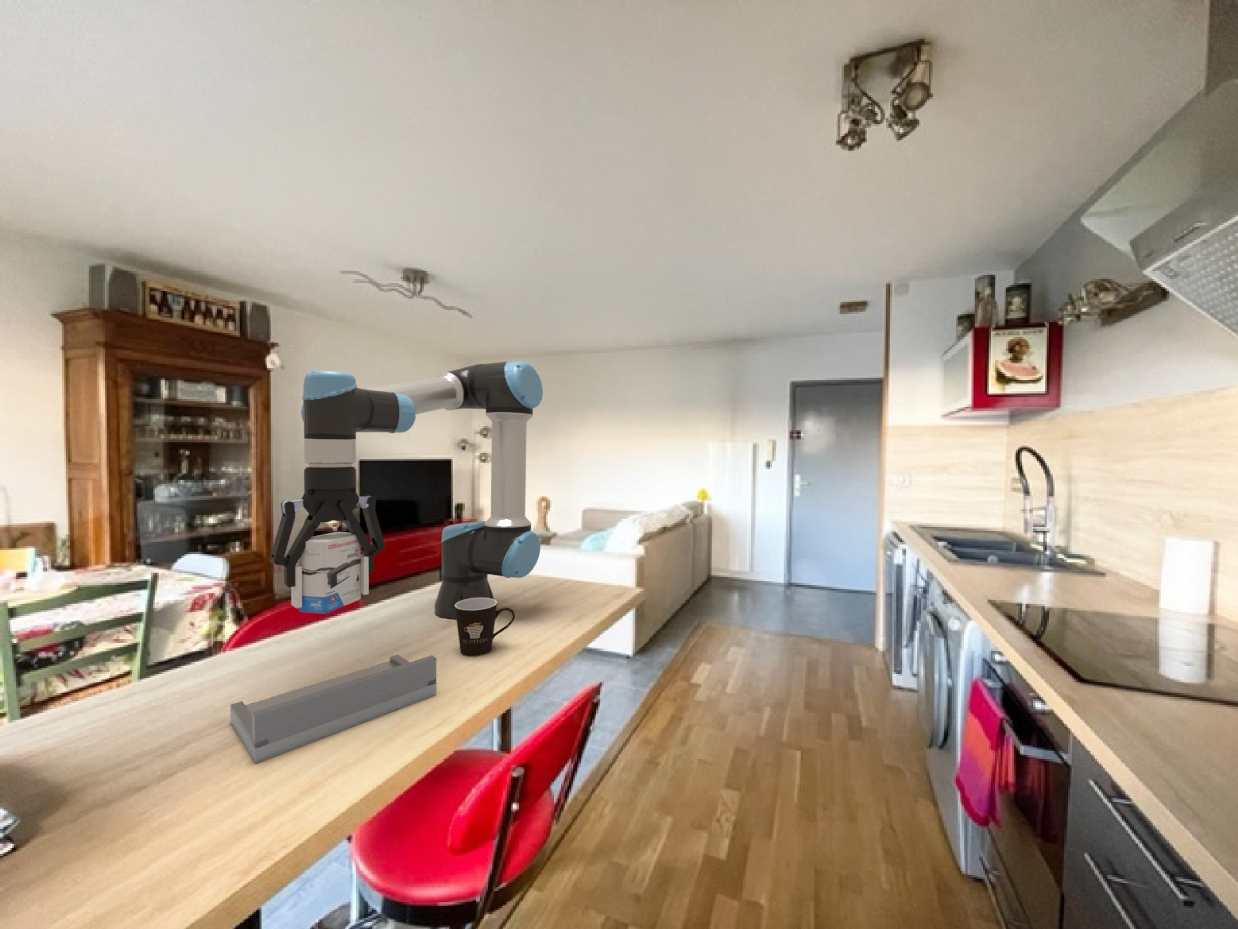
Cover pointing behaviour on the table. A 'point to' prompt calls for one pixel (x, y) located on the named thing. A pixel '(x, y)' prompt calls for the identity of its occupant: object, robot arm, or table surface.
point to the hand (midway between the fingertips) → (331, 599)
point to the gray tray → (331, 705)
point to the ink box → (330, 572)
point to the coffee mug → (477, 625)
